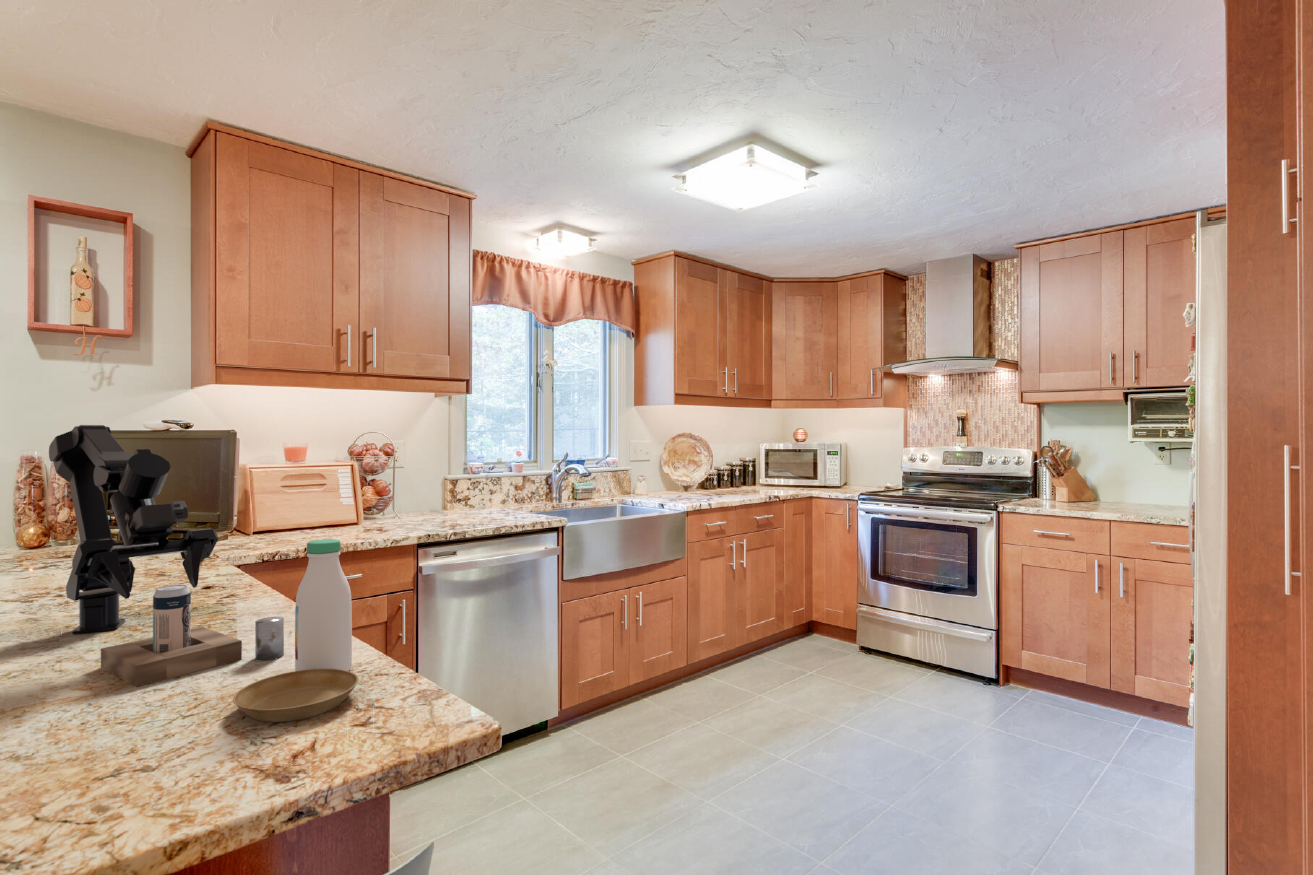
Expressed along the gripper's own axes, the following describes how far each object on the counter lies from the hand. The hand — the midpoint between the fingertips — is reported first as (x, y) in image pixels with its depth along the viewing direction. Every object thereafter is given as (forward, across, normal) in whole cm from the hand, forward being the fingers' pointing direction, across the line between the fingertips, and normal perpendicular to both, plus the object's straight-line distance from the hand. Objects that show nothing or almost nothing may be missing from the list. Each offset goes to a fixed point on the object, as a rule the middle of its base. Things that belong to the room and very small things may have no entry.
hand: (163, 591), depth 106 cm
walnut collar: (+10, 0, +5) cm, 12 cm away
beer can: (+10, 0, +5) cm, 12 cm away
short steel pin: (+17, +10, -2) cm, 20 cm away
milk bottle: (+27, +12, -12) cm, 32 cm away
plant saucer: (+34, +3, -18) cm, 38 cm away
